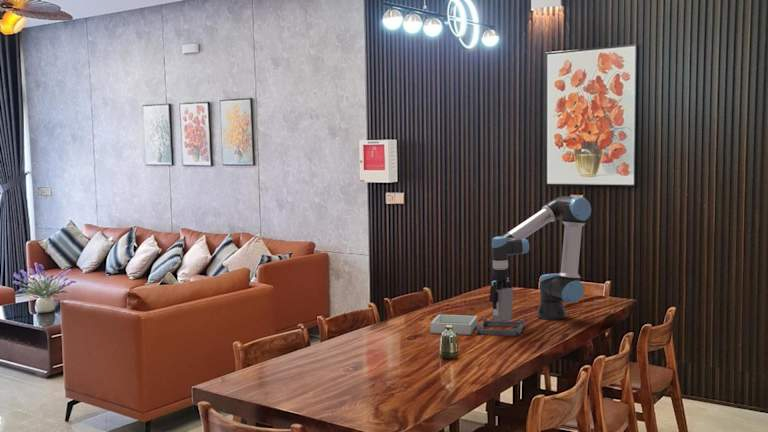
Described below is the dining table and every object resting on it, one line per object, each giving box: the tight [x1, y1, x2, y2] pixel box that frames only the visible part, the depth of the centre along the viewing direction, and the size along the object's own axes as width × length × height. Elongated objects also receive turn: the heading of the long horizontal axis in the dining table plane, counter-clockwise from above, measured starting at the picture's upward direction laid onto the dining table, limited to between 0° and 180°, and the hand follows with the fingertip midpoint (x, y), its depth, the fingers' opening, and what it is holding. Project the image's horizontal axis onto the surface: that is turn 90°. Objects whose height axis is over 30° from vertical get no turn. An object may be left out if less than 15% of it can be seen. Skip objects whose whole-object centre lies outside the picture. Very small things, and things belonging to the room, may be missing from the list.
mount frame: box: [476, 316, 525, 337], centre depth 373 cm, size 21×21×4 cm
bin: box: [429, 314, 479, 336], centre depth 378 cm, size 20×20×5 cm
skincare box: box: [492, 287, 514, 322], centre depth 372 cm, size 8×7×16 cm
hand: (501, 313), depth 373 cm, fingers closed on skincare box, 8 cm apart
